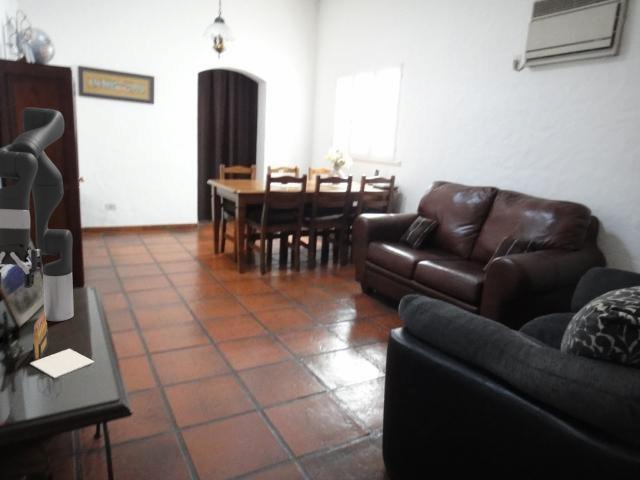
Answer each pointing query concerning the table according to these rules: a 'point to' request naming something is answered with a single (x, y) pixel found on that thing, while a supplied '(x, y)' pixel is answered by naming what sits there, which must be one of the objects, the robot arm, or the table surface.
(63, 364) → the mat
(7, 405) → the table surface
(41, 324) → the ammunition clip
